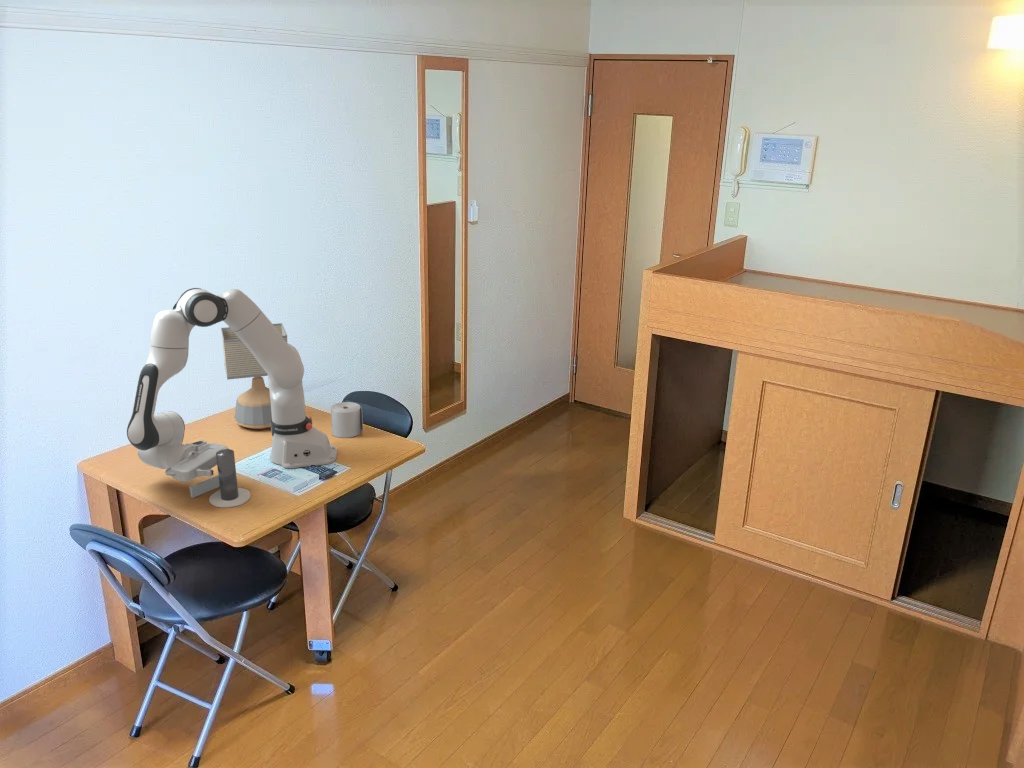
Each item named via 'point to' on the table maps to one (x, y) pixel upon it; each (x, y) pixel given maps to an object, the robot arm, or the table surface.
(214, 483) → the acrylic wall
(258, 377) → the desk lamp
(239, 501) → the resting pad
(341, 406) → the toilet tissue
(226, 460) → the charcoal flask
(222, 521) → the table surface
